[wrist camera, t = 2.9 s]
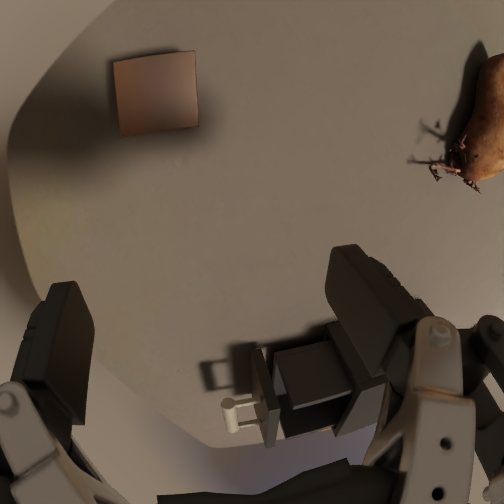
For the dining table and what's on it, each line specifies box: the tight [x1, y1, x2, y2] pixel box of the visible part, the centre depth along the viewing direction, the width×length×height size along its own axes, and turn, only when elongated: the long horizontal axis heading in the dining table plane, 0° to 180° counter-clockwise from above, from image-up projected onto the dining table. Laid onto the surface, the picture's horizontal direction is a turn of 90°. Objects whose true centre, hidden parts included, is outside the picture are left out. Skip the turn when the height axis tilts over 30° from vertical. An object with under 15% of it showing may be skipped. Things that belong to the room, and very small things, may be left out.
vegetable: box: [429, 53, 504, 193], centre depth 19 cm, size 16×11×10 cm
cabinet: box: [322, 299, 434, 437], centre depth 36 cm, size 15×13×10 cm
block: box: [113, 50, 199, 138], centre depth 16 cm, size 4×4×4 cm
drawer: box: [221, 340, 356, 448], centre depth 34 cm, size 18×12×8 cm, turn 91°
